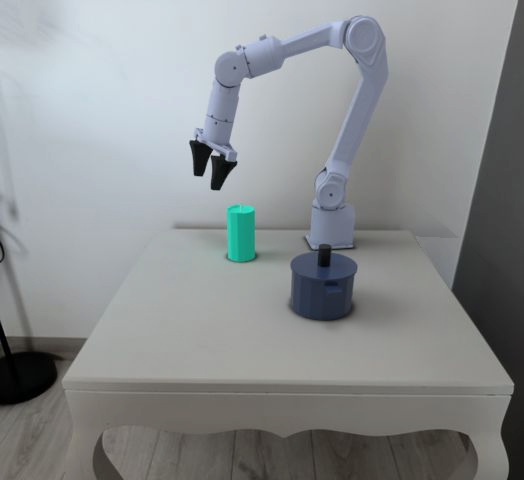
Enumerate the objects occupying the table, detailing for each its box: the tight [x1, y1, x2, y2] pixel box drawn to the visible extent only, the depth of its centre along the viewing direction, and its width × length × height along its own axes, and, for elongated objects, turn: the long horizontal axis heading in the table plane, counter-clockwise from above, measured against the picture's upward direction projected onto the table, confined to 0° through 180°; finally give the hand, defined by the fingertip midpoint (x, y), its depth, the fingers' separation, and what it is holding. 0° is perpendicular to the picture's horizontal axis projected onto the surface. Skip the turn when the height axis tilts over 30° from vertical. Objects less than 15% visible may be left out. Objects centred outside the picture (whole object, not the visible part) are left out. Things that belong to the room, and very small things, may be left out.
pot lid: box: [289, 244, 359, 282], centre depth 88 cm, size 12×12×4 cm
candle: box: [226, 201, 256, 263], centre depth 108 cm, size 6×6×12 cm
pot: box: [290, 270, 356, 321], centre depth 91 cm, size 11×16×8 cm
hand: (206, 182), depth 112 cm, fingers open, 7 cm apart
